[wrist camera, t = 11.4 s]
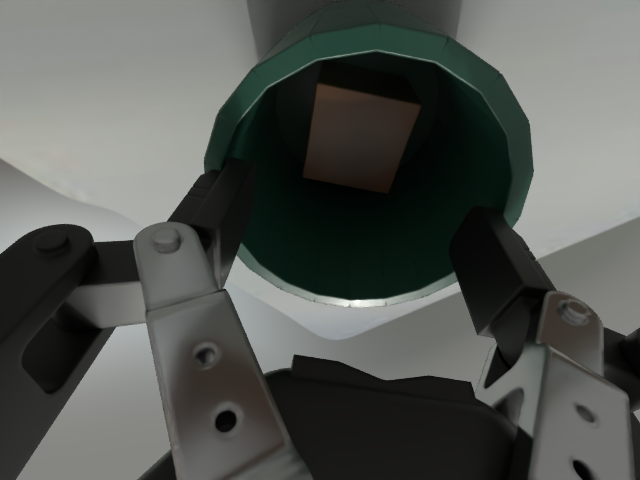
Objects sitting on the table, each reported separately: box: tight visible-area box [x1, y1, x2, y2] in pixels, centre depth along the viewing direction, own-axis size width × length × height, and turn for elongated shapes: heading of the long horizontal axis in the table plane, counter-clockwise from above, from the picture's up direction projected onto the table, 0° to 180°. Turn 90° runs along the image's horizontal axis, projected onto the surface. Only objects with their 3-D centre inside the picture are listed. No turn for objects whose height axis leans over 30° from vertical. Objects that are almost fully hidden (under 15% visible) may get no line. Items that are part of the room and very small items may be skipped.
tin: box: [204, 0, 534, 308], centre depth 15 cm, size 10×10×10 cm
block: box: [302, 60, 422, 194], centre depth 16 cm, size 5×5×5 cm
